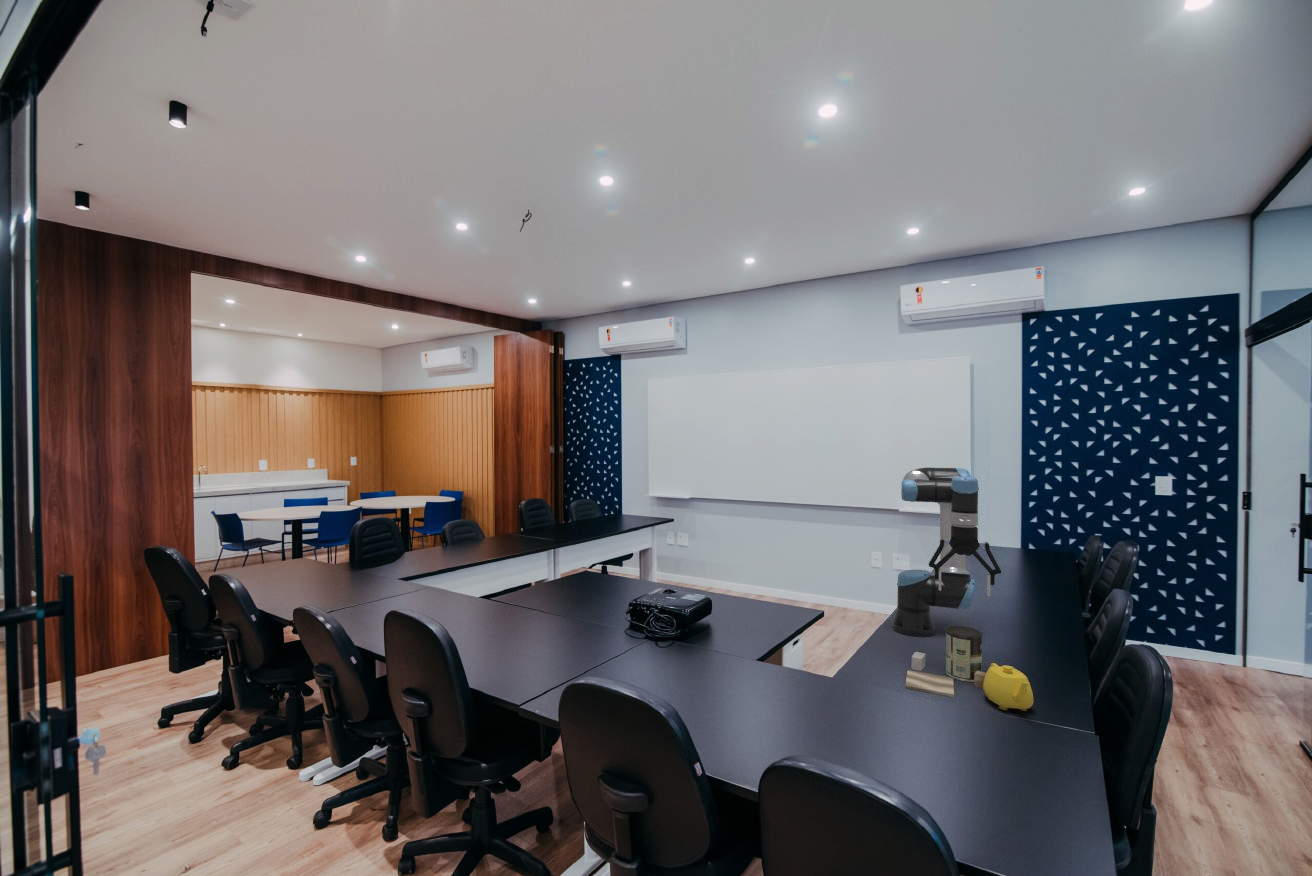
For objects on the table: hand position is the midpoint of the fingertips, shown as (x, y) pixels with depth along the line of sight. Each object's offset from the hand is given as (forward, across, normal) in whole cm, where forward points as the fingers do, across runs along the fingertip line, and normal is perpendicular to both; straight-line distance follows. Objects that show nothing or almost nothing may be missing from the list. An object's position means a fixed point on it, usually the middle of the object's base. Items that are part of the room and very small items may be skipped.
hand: (963, 592), depth 180 cm
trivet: (+26, -9, -12) cm, 31 cm away
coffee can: (+27, 0, 0) cm, 27 cm away
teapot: (+27, +11, -17) cm, 34 cm away
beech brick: (+26, +6, -7) cm, 28 cm away
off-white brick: (+26, -13, 0) cm, 29 cm away
